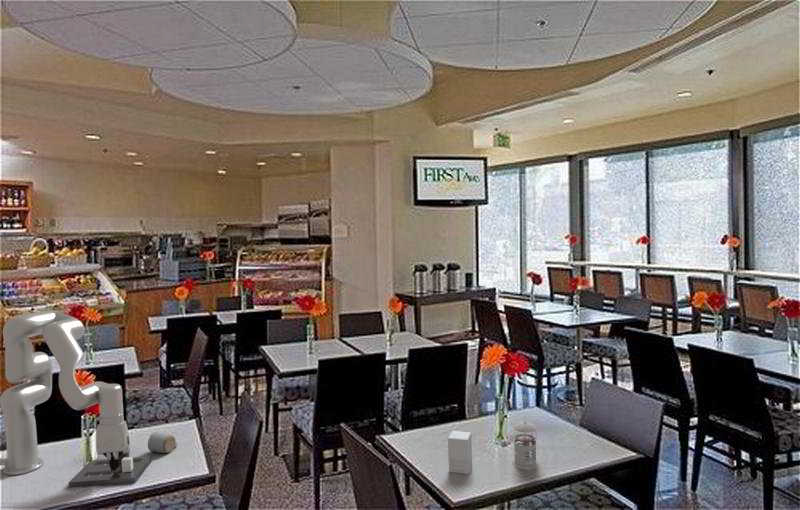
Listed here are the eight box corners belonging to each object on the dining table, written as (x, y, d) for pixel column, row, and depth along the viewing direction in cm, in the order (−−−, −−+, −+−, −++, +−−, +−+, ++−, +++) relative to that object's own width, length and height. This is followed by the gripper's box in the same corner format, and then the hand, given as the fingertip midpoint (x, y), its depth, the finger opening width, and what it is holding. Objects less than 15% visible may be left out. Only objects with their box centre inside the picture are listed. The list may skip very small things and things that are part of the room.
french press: (506, 464, 205) (505, 397, 204) (523, 454, 214) (522, 389, 212) (530, 472, 199) (529, 403, 197) (546, 461, 207) (546, 394, 206)
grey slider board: (68, 488, 195) (68, 482, 195) (91, 465, 213) (90, 460, 213) (135, 483, 197) (134, 477, 197) (151, 461, 215) (151, 455, 215)
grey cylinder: (164, 456, 219) (164, 437, 219) (147, 454, 222) (146, 435, 221) (182, 446, 229) (182, 428, 229) (166, 444, 232) (165, 426, 231)
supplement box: (472, 465, 205) (472, 432, 204) (468, 474, 198) (467, 439, 197) (453, 463, 207) (452, 430, 206) (448, 472, 200) (447, 437, 199)
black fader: (118, 462, 210) (117, 450, 209) (120, 459, 212) (120, 447, 212) (126, 461, 210) (126, 449, 210) (129, 459, 212) (128, 447, 212)
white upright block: (122, 472, 201) (121, 459, 201) (124, 469, 204) (124, 457, 203) (131, 471, 202) (130, 459, 201) (133, 468, 204) (132, 456, 204)
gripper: (85, 424, 196) (88, 475, 198) (130, 421, 198) (133, 472, 199) (94, 417, 204) (97, 466, 205) (137, 414, 205) (140, 463, 207)
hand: (114, 468), depth 202 cm, fingers closed
